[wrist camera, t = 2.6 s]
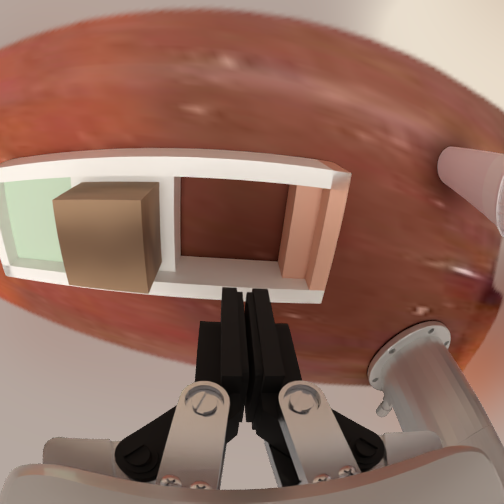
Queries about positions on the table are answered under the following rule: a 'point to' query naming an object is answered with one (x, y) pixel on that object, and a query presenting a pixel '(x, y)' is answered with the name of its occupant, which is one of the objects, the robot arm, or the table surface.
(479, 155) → the smoothie
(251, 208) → the table surface
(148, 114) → the table surface
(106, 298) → the table surface
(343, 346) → the table surface
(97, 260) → the block
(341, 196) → the box
